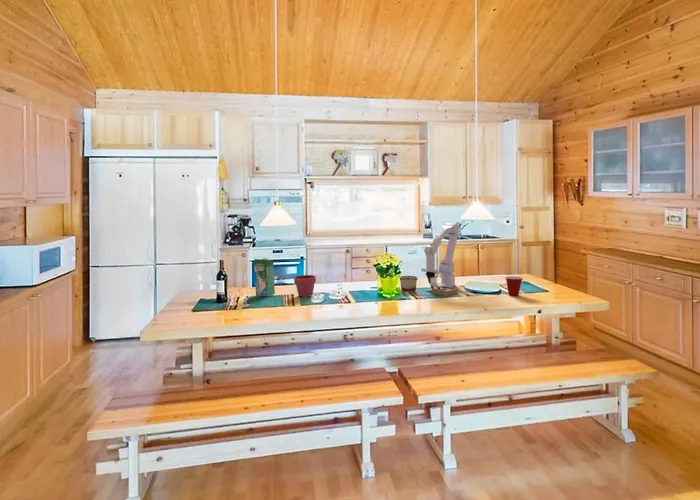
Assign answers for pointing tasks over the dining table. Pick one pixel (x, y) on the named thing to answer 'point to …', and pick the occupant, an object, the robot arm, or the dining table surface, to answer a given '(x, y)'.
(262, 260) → the milk carton
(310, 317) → the dining table surface
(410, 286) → the food container
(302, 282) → the plant pot
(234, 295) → the dining table surface
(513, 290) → the plastic cup
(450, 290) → the dock
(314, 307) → the dining table surface
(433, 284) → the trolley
